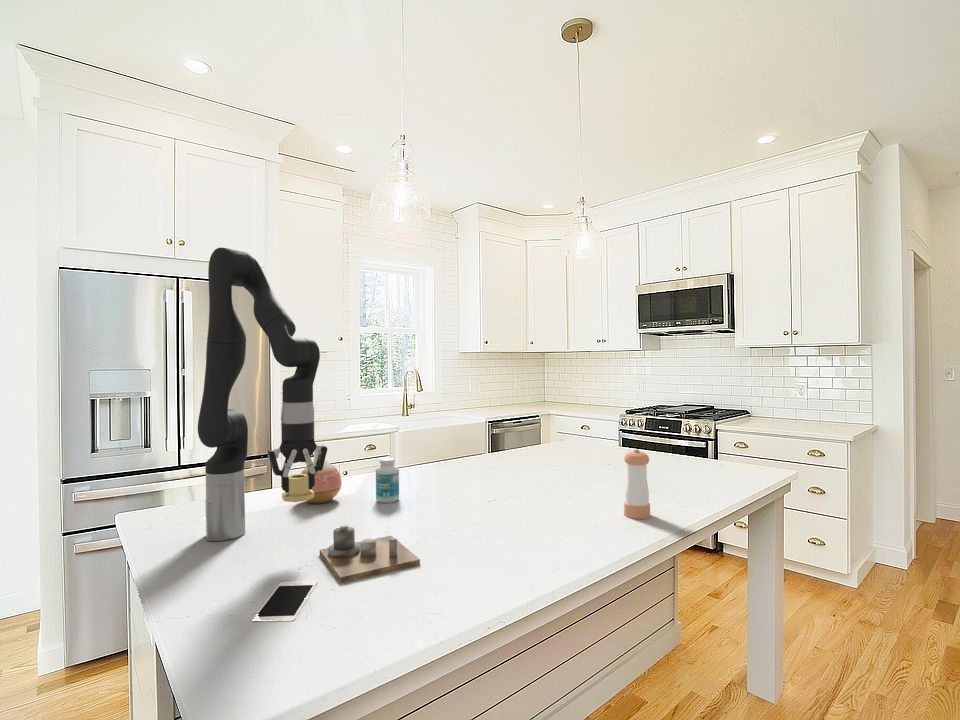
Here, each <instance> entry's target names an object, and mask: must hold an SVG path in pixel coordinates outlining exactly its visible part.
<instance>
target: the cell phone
mask: <svg viewBox="0 0 960 720" xmlns="http://www.w3.org/2000/svg"><path fill="white" fill-rule="evenodd" d="M317 582H318V583H319V580H303V581H301V580H299V581H281V582H279V583H278V585H277V586H276V587H275V589H274V590H273V591H272V593H271V594H270V595H269V596H268V597H267V599H266V600H265V601H264V603H263V604H262V605H261V607H260V608H259V609H258V611H257V612H256V613H257V614H259V615H258V616H259V618H260V619H261V620H268V621H269V620H273V621H274V620H278V619H279V620H283V619H285V618H287V620H289V619H293V618H294V617H296V616H297V614H298V613H299V614H300V612H301V611H300V609H301V608H302V607H303V608H304V606H305V604H306V603H305V602H307V601H308V599H306V597H307V596H308V595H310V593H311V592H312V593H313V591H314V590H315V588H316V587H317V585H318V583H317ZM316 584H317V585H316ZM314 587H315V588H314ZM313 589H314V590H313ZM312 590H313V591H312ZM312 593H311V594H312ZM310 596H311V595H310ZM304 598H305V599H304ZM306 600H307V601H306ZM304 603H305V604H304ZM303 605H304V606H303ZM303 608H302V609H303ZM302 609H301V610H302ZM299 611H300V612H299ZM299 614H298V615H299ZM286 616H287V617H286ZM288 616H289V617H288ZM284 617H285V618H284ZM290 617H291V618H290ZM292 617H293V618H292ZM297 617H298V616H297ZM297 617H296V618H297ZM288 618H289V619H288ZM294 619H295V618H294ZM285 620H286V619H285ZM295 620H296V619H295Z"/></svg>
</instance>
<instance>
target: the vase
mask: <svg viewBox="0 0 960 720" xmlns="http://www.w3.org/2000/svg"><path fill="white" fill-rule="evenodd" d="M317 458H318V453H317V450H316V449H315V451H314V452H313V460H312V463H313V466H316V462H317ZM307 473H308V469H307V466H306V467H305V468H304V469H303V470H302V471H301V472H300V474H307ZM342 485H343V484H342V476H341V473H340V472H339V470H338V469H337V468H336V466H334V465H333V464H332V463H330V462H329V461H327V460H326V459H325V461H324V465H323V469H322V470H321V471H317V472H316V473H315V485H314V487H312V490H313V491H314V498H312V499H310V500H307V502H308V503H309V504H313V505H318V504H319V505H321V504H326V503H328V502H331V501H332V500H333V499H334V498H335V497H336V496H337V495H338V494H339V493H340V491H341V488H342Z"/></svg>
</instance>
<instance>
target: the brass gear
mask: <svg viewBox="0 0 960 720" xmlns="http://www.w3.org/2000/svg"><path fill="white" fill-rule="evenodd" d="M288 477H289V492H287V493H285V491H284V492H282V493H281V499H282V501H283V502H285V503H286V502H289V503H299V502H306V501H307V500H310V499H312V498H314V491H313V490H312V489H310V490H309V475H307V474H301V473H297V474H290V475H288ZM307 502H308V501H307Z"/></svg>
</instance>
